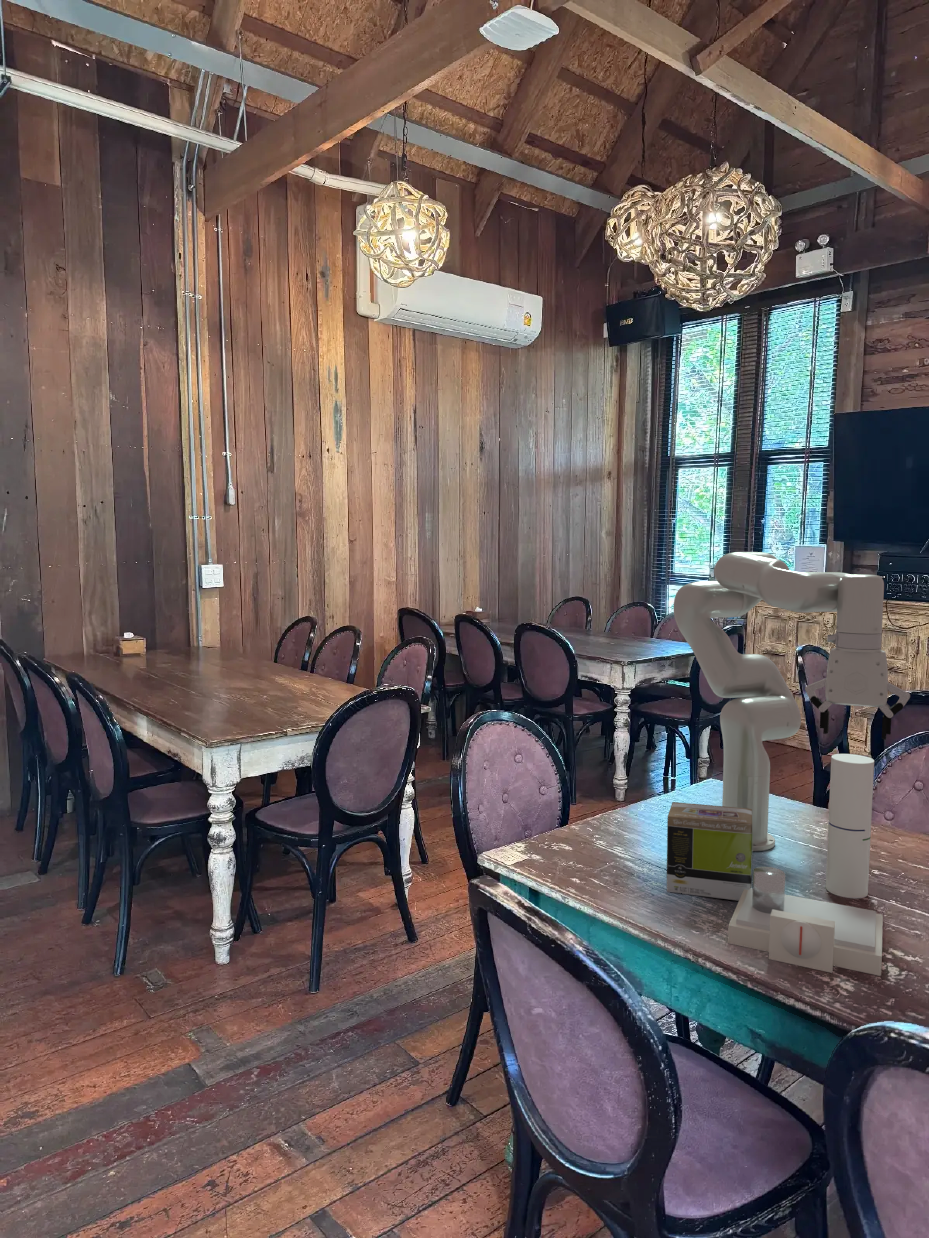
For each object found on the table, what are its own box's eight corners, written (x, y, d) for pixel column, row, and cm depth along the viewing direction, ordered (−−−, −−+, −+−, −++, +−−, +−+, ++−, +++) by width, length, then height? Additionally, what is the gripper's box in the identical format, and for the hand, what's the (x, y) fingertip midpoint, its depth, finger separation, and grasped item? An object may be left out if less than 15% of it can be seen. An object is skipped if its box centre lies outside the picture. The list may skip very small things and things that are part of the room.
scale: (724, 951, 130) (726, 908, 130) (743, 905, 147) (744, 867, 147) (880, 985, 120) (883, 938, 120) (881, 932, 137) (883, 891, 137)
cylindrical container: (818, 883, 157) (823, 754, 155) (854, 881, 158) (860, 753, 156) (838, 898, 150) (844, 763, 148) (875, 897, 151) (882, 763, 149)
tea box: (751, 883, 157) (754, 807, 156) (751, 904, 148) (754, 824, 146) (669, 872, 162) (672, 799, 161) (664, 892, 153) (667, 814, 151)
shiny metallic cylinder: (750, 909, 137) (751, 874, 136) (754, 898, 141) (755, 864, 141) (782, 916, 134) (783, 880, 134) (785, 904, 139) (787, 869, 138)
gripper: (805, 641, 151) (801, 734, 152) (913, 647, 143) (908, 744, 144) (808, 638, 157) (805, 726, 159) (912, 643, 150) (907, 736, 151)
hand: (854, 735), depth 152 cm, fingers open, 9 cm apart
